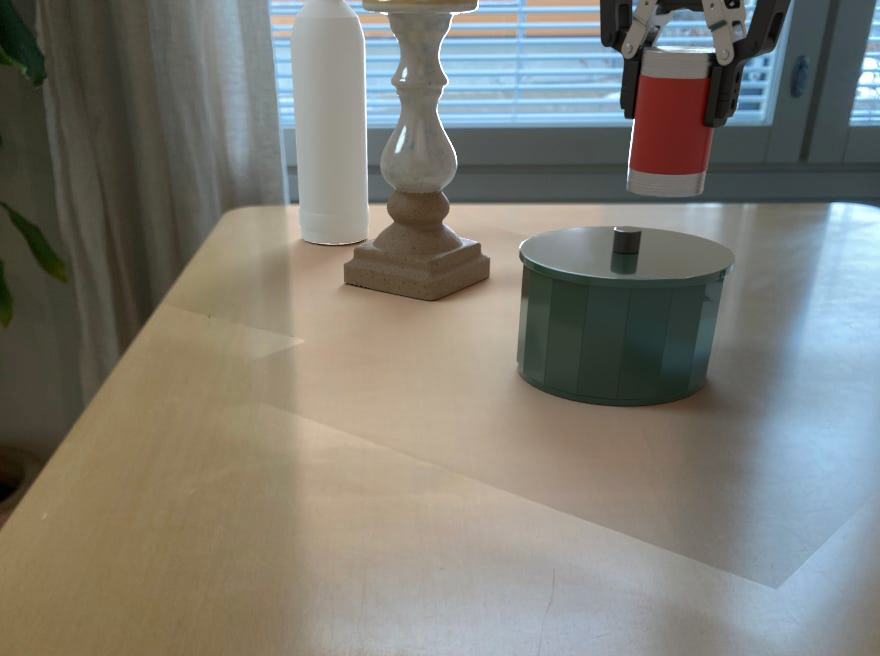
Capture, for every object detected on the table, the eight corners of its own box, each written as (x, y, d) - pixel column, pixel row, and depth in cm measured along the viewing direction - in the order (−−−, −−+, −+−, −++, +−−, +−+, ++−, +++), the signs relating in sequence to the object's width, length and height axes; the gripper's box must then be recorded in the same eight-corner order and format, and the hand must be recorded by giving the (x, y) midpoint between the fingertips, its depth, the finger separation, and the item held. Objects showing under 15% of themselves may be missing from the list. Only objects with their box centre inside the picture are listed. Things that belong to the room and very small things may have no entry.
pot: (581, 329, 86) (592, 226, 81) (737, 367, 78) (760, 256, 73) (481, 374, 77) (486, 261, 72) (646, 422, 69) (665, 299, 64)
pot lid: (589, 232, 82) (593, 197, 80) (767, 264, 73) (776, 226, 72) (476, 270, 72) (478, 231, 70) (667, 312, 64) (673, 269, 62)
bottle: (382, 240, 112) (379, -87, 94) (323, 249, 108) (308, -88, 91) (345, 226, 117) (336, -85, 100) (288, 235, 113) (267, -86, 96)
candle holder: (404, 259, 105) (405, -8, 91) (492, 275, 99) (507, -5, 86) (341, 283, 97) (331, -4, 84) (432, 301, 92) (438, -1, 78)
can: (689, 182, 75) (711, 45, 70) (714, 197, 70) (739, 52, 65) (616, 183, 75) (633, 46, 70) (636, 198, 70) (655, 53, 65)
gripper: (857, -187, 59) (791, 126, 69) (644, -172, 66) (613, 108, 76) (807, -199, 54) (745, 139, 64) (585, -181, 62) (560, 118, 72)
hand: (673, 121), depth 70 cm, fingers closed on can, 5 cm apart
